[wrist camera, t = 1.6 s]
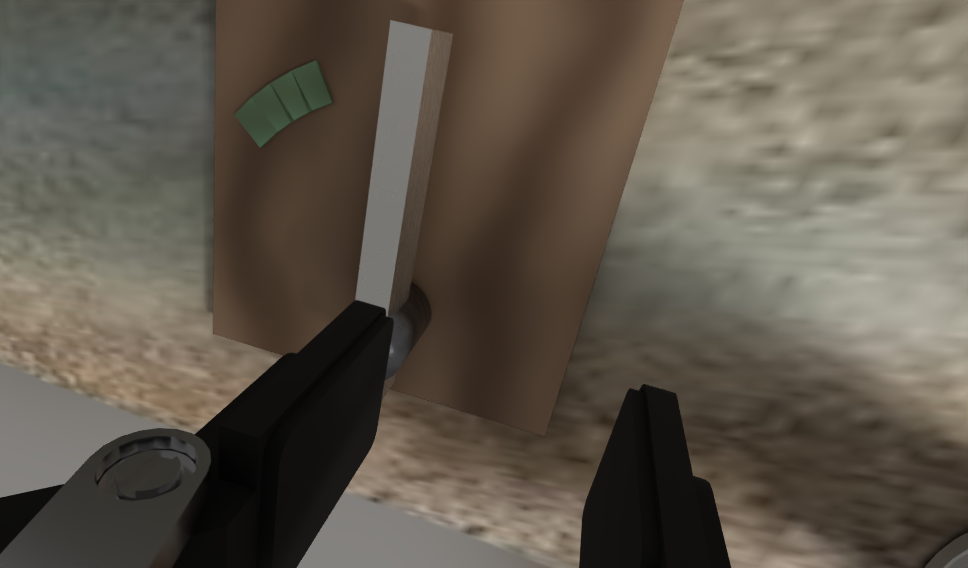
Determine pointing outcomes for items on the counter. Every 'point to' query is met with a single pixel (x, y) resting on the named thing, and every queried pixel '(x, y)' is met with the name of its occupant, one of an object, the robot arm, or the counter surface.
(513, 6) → the dial board
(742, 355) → the counter surface
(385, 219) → the dial pointer
